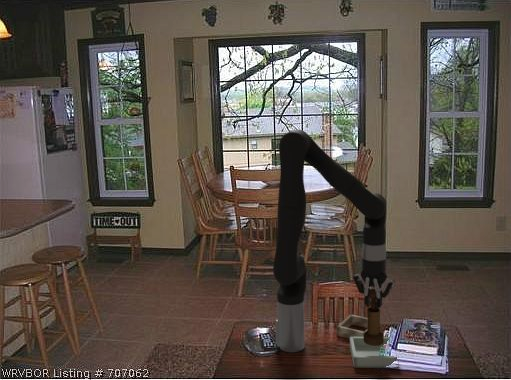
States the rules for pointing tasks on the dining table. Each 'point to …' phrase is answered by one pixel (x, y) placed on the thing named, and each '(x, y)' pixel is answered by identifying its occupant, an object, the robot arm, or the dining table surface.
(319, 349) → the dining table surface
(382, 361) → the tray
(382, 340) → the brown pepper mill
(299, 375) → the dining table surface
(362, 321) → the beige square dish
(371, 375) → the dining table surface
